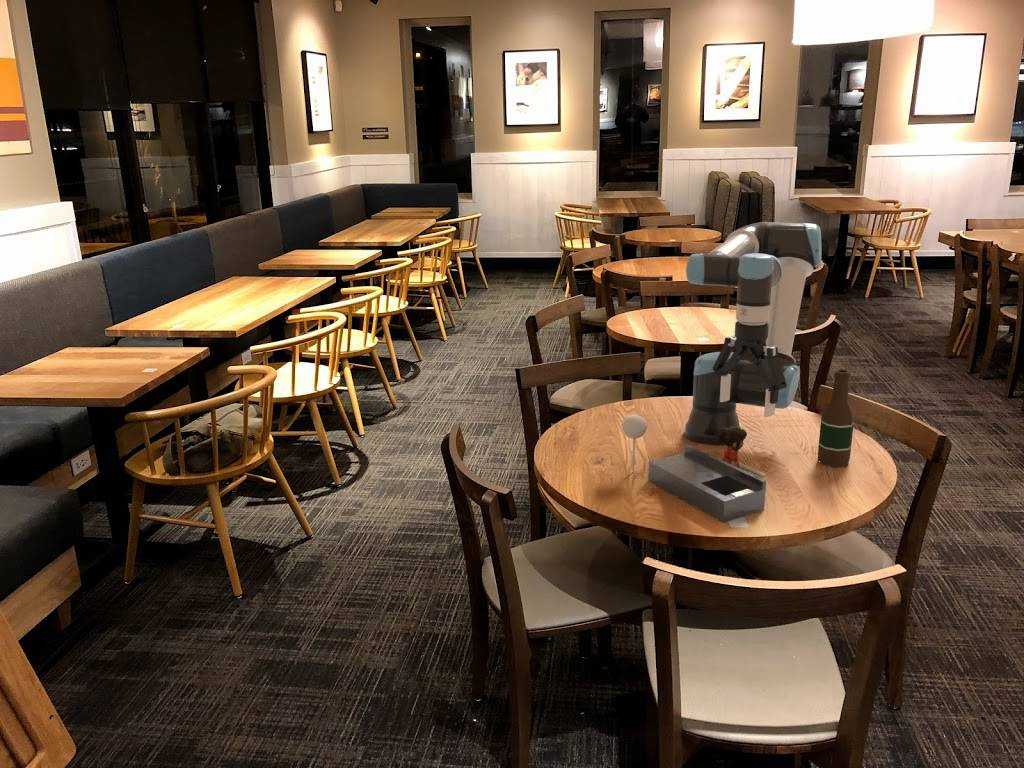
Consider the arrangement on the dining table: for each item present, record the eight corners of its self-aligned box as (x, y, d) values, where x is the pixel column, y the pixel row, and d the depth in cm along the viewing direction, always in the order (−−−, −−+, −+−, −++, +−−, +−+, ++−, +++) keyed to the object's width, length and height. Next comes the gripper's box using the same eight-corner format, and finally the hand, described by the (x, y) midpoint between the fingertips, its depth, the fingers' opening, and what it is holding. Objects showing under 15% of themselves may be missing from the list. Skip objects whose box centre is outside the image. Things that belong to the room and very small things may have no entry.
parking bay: (695, 470, 203) (695, 468, 203) (731, 460, 209) (731, 458, 209) (727, 486, 194) (727, 484, 193) (765, 475, 199) (765, 474, 199)
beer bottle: (852, 468, 202) (862, 376, 195) (819, 466, 204) (828, 374, 197) (846, 456, 209) (856, 367, 202) (814, 455, 211) (823, 366, 204)
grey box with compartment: (648, 480, 198) (649, 453, 196) (686, 470, 203) (687, 444, 201) (723, 522, 176) (725, 492, 174) (764, 509, 181) (766, 480, 179)
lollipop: (647, 469, 204) (649, 412, 200) (643, 478, 199) (645, 420, 195) (623, 466, 206) (624, 410, 202) (618, 475, 201) (619, 418, 197)
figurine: (728, 479, 197) (731, 433, 194) (713, 471, 202) (715, 426, 198) (748, 474, 200) (751, 428, 196) (732, 466, 205) (735, 421, 201)
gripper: (700, 314, 197) (696, 397, 203) (785, 334, 177) (778, 425, 183) (722, 310, 201) (717, 392, 207) (807, 329, 181) (800, 418, 187)
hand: (746, 408), depth 195 cm, fingers open, 13 cm apart
